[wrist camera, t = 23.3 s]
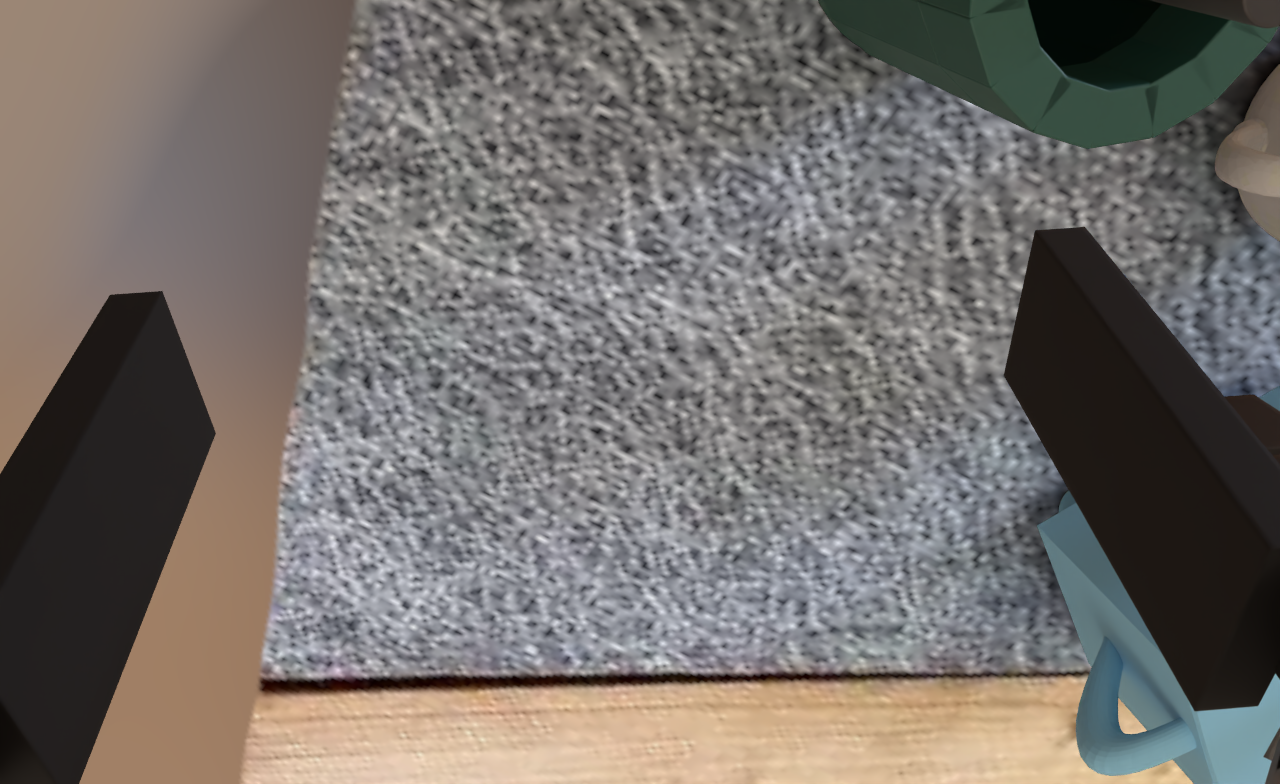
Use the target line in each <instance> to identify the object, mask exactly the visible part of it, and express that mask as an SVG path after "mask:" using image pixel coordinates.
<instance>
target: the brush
mask: <svg viewBox="0 0 1280 784" xmlns="http://www.w3.org/2000/svg"><path fill="white" fill-rule="evenodd" d="M1150 1H1154V2H1158V3H1162V4H1166V5H1171V6H1175V7H1179V8H1183V9H1187V10H1191V11H1195V12H1199V13H1203V14H1207V15H1212V16H1216V17H1220V18H1224V19H1228V20H1232V21H1236V22H1240V23H1244V24H1248V25H1253V26H1257V27H1261V28H1274V27H1278V26H1280V0H1150Z"/></svg>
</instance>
